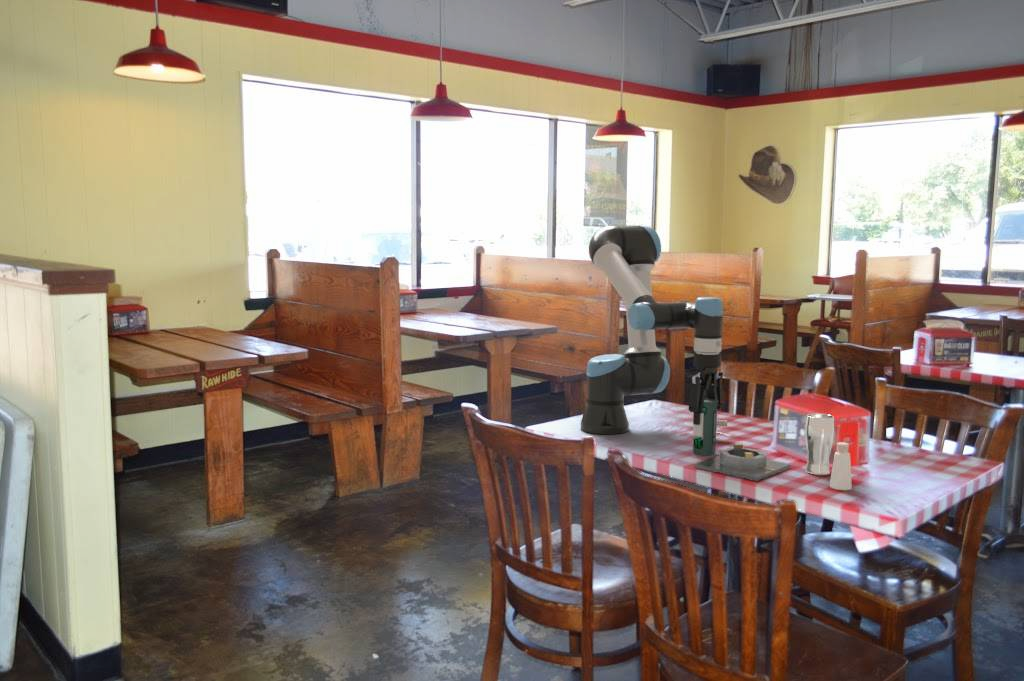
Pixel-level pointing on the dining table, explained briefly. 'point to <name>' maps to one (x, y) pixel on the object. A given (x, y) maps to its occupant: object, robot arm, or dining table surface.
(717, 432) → the butter knife
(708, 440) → the can
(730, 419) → the dining table surface
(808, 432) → the beer glass
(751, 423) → the dining table surface
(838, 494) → the dining table surface
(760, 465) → the collar
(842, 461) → the pepper shaker
